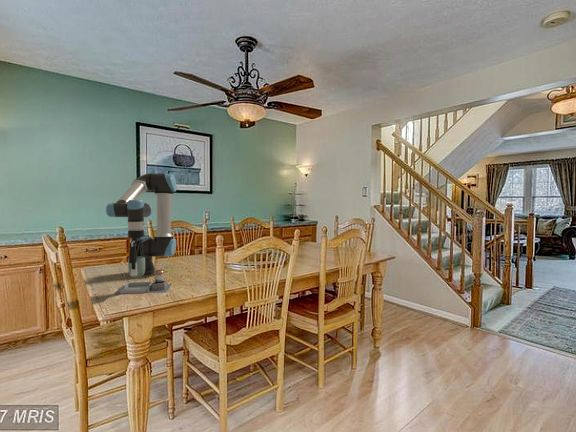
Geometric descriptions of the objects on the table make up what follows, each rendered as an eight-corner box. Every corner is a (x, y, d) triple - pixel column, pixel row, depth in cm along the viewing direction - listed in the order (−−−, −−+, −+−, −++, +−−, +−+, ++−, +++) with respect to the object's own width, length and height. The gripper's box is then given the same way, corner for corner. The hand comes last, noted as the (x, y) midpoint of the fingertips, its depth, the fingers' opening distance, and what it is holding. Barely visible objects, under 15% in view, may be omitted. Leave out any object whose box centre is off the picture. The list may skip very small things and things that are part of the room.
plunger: (155, 281, 169) (155, 270, 168) (165, 280, 169) (164, 269, 169) (153, 283, 164) (153, 272, 163) (163, 283, 165) (162, 271, 164)
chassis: (128, 288, 172) (127, 279, 172) (172, 286, 176) (172, 278, 175) (117, 297, 156) (116, 287, 156) (166, 295, 160) (165, 286, 159)
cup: (148, 276, 166) (148, 257, 165) (134, 279, 159) (134, 259, 159) (139, 274, 170) (138, 255, 169) (125, 277, 163) (124, 258, 163)
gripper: (137, 231, 154) (138, 278, 155) (149, 227, 174) (149, 268, 175) (121, 231, 152) (121, 278, 153) (134, 228, 173) (135, 269, 174)
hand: (136, 273), depth 164 cm, fingers closed on cup, 8 cm apart
